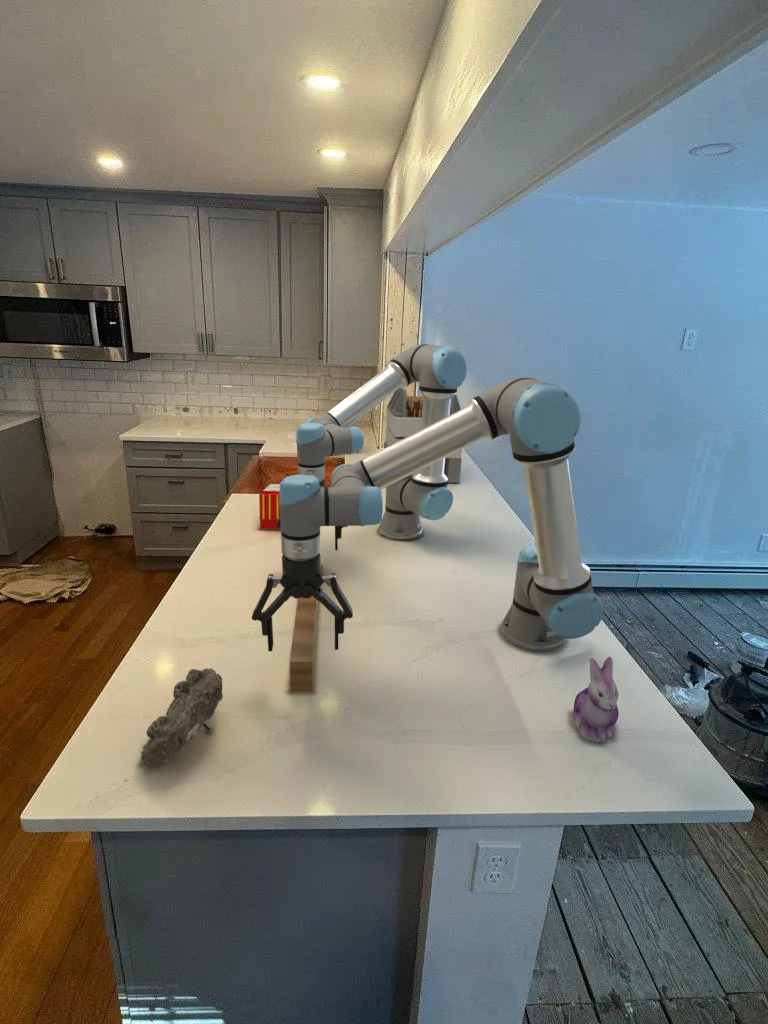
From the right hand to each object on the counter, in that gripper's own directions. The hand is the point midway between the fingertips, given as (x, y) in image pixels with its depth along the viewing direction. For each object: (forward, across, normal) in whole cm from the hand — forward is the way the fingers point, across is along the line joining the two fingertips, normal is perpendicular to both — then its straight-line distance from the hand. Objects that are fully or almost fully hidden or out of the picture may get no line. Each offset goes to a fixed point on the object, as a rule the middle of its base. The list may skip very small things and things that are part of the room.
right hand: (303, 647), depth 118 cm
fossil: (+7, -20, -15) cm, 26 cm away
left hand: (0, 0, +51) cm, 51 cm away
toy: (+7, -15, +98) cm, 99 cm away
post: (+7, 0, +25) cm, 26 cm away
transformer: (+9, +47, +160) cm, 167 cm away
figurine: (+9, +57, -17) cm, 60 cm away
